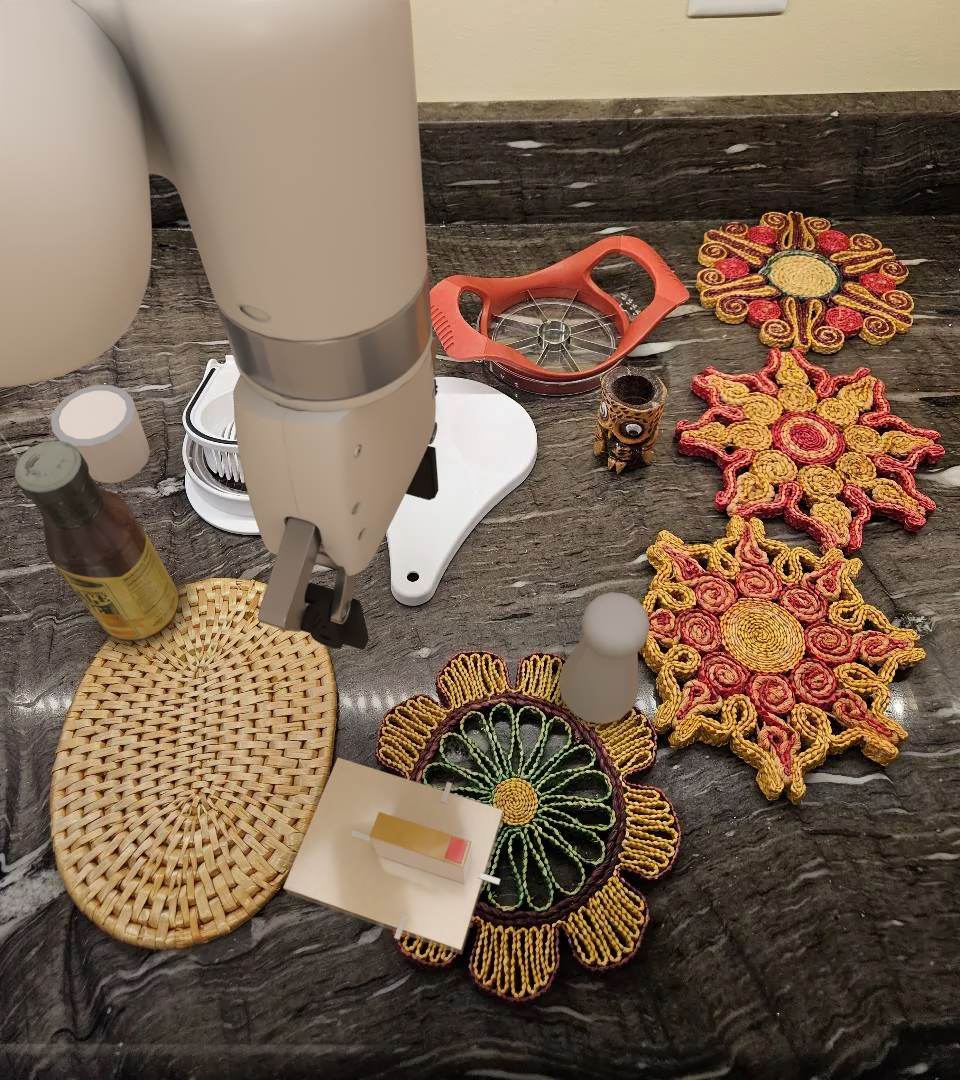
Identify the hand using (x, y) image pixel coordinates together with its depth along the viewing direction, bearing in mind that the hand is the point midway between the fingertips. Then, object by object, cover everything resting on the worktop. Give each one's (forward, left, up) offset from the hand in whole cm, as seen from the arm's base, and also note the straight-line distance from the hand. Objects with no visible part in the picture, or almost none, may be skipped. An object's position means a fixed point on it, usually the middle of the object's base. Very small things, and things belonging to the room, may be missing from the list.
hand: (376, 559), depth 46 cm
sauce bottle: (-23, +2, -22) cm, 32 cm away
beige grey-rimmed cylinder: (-33, +15, -22) cm, 43 cm away
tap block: (+3, -10, -22) cm, 24 cm away
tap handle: (+5, -10, -19) cm, 22 cm away
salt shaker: (+13, +6, -22) cm, 27 cm away
